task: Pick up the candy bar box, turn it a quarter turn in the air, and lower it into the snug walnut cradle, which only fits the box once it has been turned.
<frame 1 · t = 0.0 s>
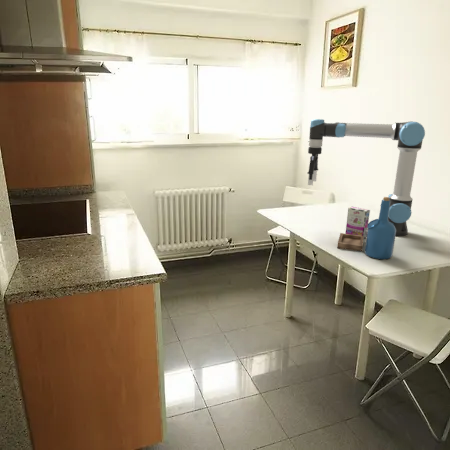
hand: (312, 183, 227), 28 cm above the table, tool pointing down, fingers open, 13 cm apart
candy bar box: (355, 236, 222), on the table
walnut cradle: (350, 244, 208), on the table
wine bottle: (377, 255, 193), on the table
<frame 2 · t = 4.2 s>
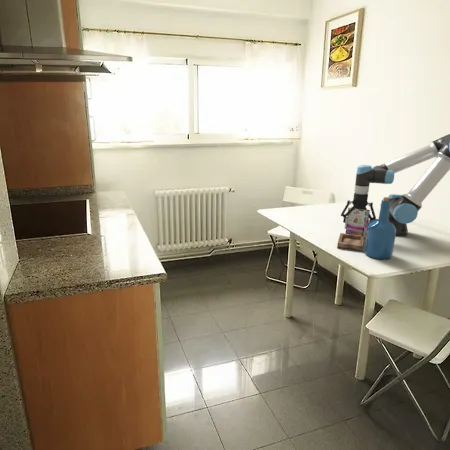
hand: (356, 229, 221), 4 cm above the table, tool pointing down, fingers closed on candy bar box, 12 cm apart
candy bar box: (355, 236, 222), on the table, touching gripper
everything else where it was.
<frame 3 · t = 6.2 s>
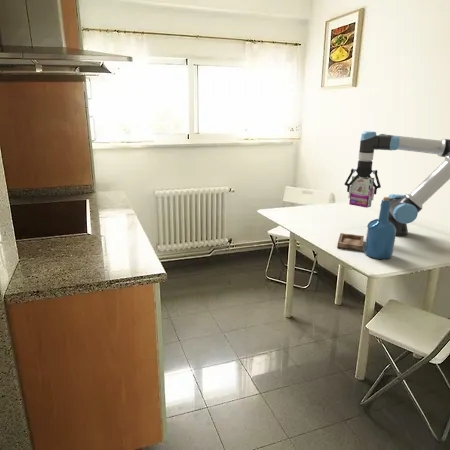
hand: (360, 198, 216), 22 cm above the table, tool pointing down, fingers closed on candy bar box, 12 cm apart
candy bar box: (359, 205, 217), point 18 cm above the table, touching gripper
everything else where it was.
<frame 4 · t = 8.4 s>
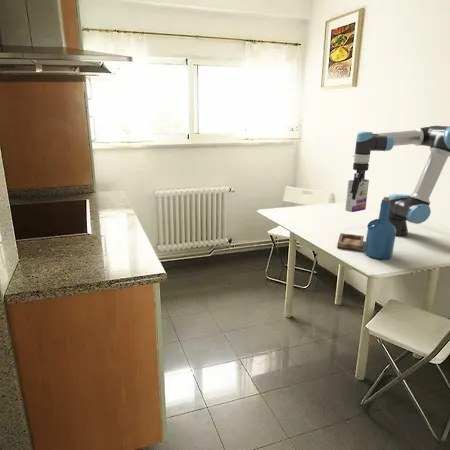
hand: (356, 203, 204), 22 cm above the table, tool pointing down, fingers closed on candy bar box, 12 cm apart
candy bar box: (355, 210, 205), point 18 cm above the table, touching gripper
everything else where it was.
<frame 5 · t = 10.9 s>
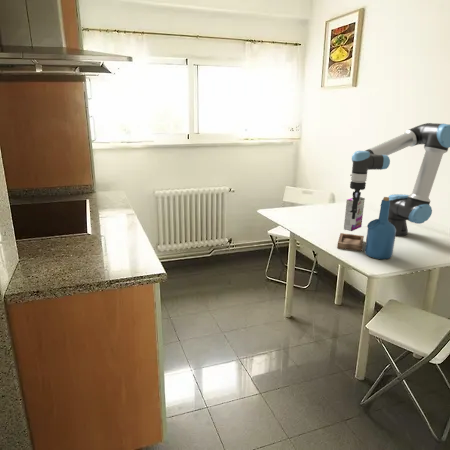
hand: (353, 221, 204), 13 cm above the table, tool pointing down, fingers closed on candy bar box, 12 cm apart
candy bar box: (352, 228, 205), point 9 cm above the table, touching gripper
everything else where it was.
when the fingers open (6 cm above the table, at t = 12.8 s): candy bar box drops 1 cm, resting on walnut cradle.
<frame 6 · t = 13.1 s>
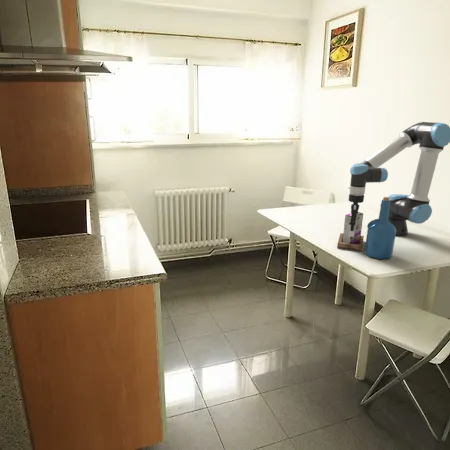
hand: (351, 232, 206), 7 cm above the table, tool pointing down, fingers open, 13 cm apart
candy bar box: (350, 243, 207), point 1 cm above the table, touching walnut cradle
everything else where it was.
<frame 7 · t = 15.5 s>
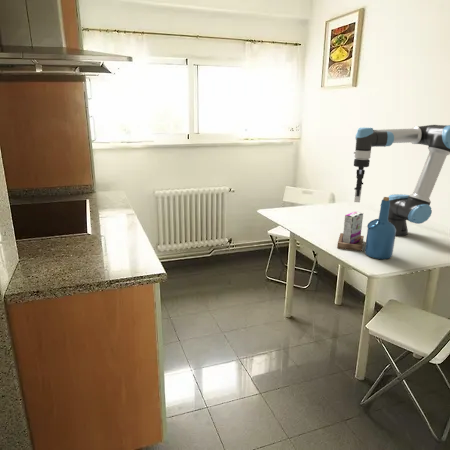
hand: (357, 199, 201), 25 cm above the table, tool pointing down, fingers open, 13 cm apart
nothing on the table moved.
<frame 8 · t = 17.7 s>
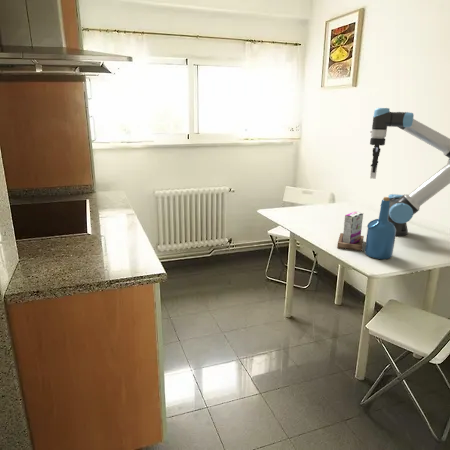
hand: (372, 176, 213), 35 cm above the table, tool pointing down, fingers open, 13 cm apart
nothing on the table moved.
at the end: candy bar box 0.3 cm off-centre on the walnut cradle, point 0.8 cm above the walnut cradle's base; candy bar box tilted 0°; the gripper is holding nothing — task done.
